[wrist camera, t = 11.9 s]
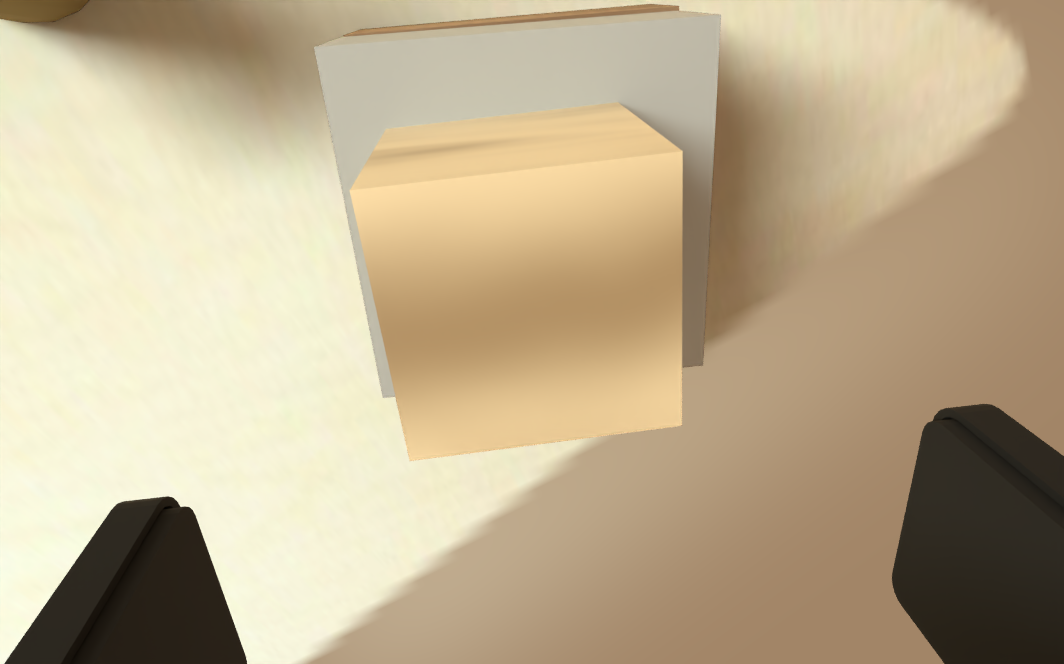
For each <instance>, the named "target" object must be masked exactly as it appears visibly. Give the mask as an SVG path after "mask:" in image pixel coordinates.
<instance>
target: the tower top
mask: <svg viewBox="0 0 1064 664" xmlns="http://www.w3.org/2000/svg"><path fill="white" fill-rule="evenodd" d="M720 25H721V15H718V14H708V13H698V12H687V11H665V12H652V13H639V14H627V15H614V16H601V17H589V18H576V19H563V20H551V21H538V22H525V23H513V24H500V25H487V26H475V27H462V28H449V29H437V30H424V31H411V32H399V33H386V34H373V35H361V36H348V37H340V38H337V39H335V40H332V41H329V42H326V43H324V44H321V45H318V46H315V47H314V50H315V56H316V61H317V66H318V71H319V76H320V81H321V86H322V91H323V96H324V101H325V106H326V111H327V116H328V122H329V127H330V132H331V137H332V142H333V147H334V152H335V157H336V162H337V167H338V172H339V177H340V182H341V188H342V193H343V198H344V203H345V208H346V213H347V218H348V223H349V228H350V233H351V238H352V243H353V248H354V254H355V259H356V264H357V269H358V274H359V279H360V284H361V289H362V294H363V299H364V304H365V309H366V314H367V320H368V325H369V330H370V335H371V340H372V345H373V350H374V355H375V360H376V365H377V370H378V375H379V380H380V386H381V391H382V396H383V398H386V397H395V392H394V388H393V383H392V379H391V374H390V370H389V365H388V361H387V356H386V352H385V347H384V343H383V338H382V334H381V329H380V325H379V320H378V316H377V311H376V307H375V303H374V298H373V294H372V289H371V285H370V280H369V276H368V271H367V267H366V262H365V258H364V253H363V249H362V244H361V240H360V235H359V231H358V226H357V222H356V217H355V213H354V208H353V204H352V199H351V195H350V189H351V187H352V185H353V184H354V182H355V180H356V179H357V177H358V175H359V174H360V172H361V170H362V169H363V167H364V165H365V164H366V162H367V160H368V159H369V157H370V155H371V153H372V152H373V150H374V148H375V147H376V145H377V143H378V142H379V140H380V138H381V137H382V135H383V133H384V132H385V130H386V129H390V128H398V127H407V126H416V125H424V124H433V123H442V122H450V121H459V120H468V119H476V118H485V117H494V116H502V115H511V114H520V113H528V112H537V111H546V110H554V109H563V108H572V107H580V106H589V105H598V104H606V103H615V102H618V103H620V104H621V105H622V106H624V107H625V108H626V109H628V110H629V111H630V112H632V113H633V114H634V115H636V116H637V117H638V118H640V119H641V120H642V121H643V122H645V123H646V124H647V125H649V126H650V127H651V128H653V129H654V130H655V131H657V132H658V133H659V134H661V135H662V136H663V137H665V138H666V139H667V140H669V141H670V142H671V143H672V144H674V145H675V146H676V147H678V148H679V149H680V150H682V151H683V205H682V367H692V366H702V365H703V355H704V336H705V316H706V297H707V278H708V258H709V239H710V219H711V200H712V181H713V161H714V142H715V122H716V103H717V83H718V64H719V45H720Z"/></svg>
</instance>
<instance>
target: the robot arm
mask: <svg viewBox="0 0 1064 664" xmlns="http://www.w3.org/2000/svg"><path fill="white" fill-rule="evenodd" d="M892 583H893V588H894V592H895V594H896V597H897V599H898V601H899V602H900V604H901V605H902V607H903V608H904V610H905V611H906V612H907V613H908V615H909V616H910V617H911V619H912V620H913V622H914V623H915V624H916V625H917V627H918V628H919V630H920V631H921V632H922V634H923V635H924V636H925V638H926V639H927V640H928V642H929V643H930V644H931V646H932V647H933V649H934V650H935V651H936V653H937V654H938V655H939V657H940V658H941V659H942V661H943V662H944V663H945V664H1064V456H1063V455H1061V454H1060V453H1059V452H1057V451H1056V450H1054V449H1053V448H1052V447H1050V446H1049V445H1048V444H1046V443H1045V442H1044V441H1042V440H1041V439H1040V438H1038V437H1037V436H1035V435H1034V434H1033V433H1032V432H1030V431H1029V430H1027V429H1026V428H1025V427H1023V426H1022V425H1021V424H1019V423H1018V422H1016V421H1015V420H1014V419H1013V418H1011V417H1010V416H1008V415H1007V414H1006V413H1004V412H1003V411H1002V410H1000V409H999V408H997V407H995V406H993V405H989V404H980V405H971V406H962V407H953V408H945V409H943V410H940V411H939V412H938V413H937V414H936V415H935V417H934V419H933V421H932V422H929V423H927V424H926V426H925V427H924V429H923V432H922V437H921V441H920V446H919V451H918V456H917V460H916V465H915V470H914V474H913V479H912V484H911V488H910V493H909V498H908V502H907V507H906V512H905V516H904V521H903V526H902V531H901V535H900V540H899V545H898V549H897V554H896V559H895V563H894V568H893V573H892ZM5 664H247V660H246V656H245V653H244V650H243V647H242V645H241V642H240V639H239V636H238V633H237V631H236V628H235V625H234V622H233V619H232V617H231V614H230V611H229V608H228V606H227V603H226V600H225V597H224V594H223V592H222V589H221V586H220V583H219V580H218V578H217V575H216V572H215V569H214V566H213V564H212V561H211V558H210V555H209V552H208V550H207V547H206V544H205V541H204V538H203V536H202V533H201V530H200V527H199V524H198V522H197V519H196V516H195V514H194V512H193V510H192V509H191V508H190V507H180V506H179V504H178V502H177V501H176V500H175V499H174V498H172V497H160V498H151V499H142V500H133V501H124V502H121V503H119V504H117V505H116V506H115V507H114V508H113V509H112V510H111V511H110V513H109V514H108V516H107V517H106V519H105V520H104V521H103V523H102V524H101V526H100V527H99V529H98V530H97V531H96V533H95V534H94V536H93V537H92V539H91V540H90V541H89V543H88V544H87V546H86V547H85V549H84V550H83V552H82V553H81V554H80V556H79V557H78V559H77V560H76V562H75V563H74V564H73V566H72V567H71V569H70V570H69V572H68V573H67V575H66V576H65V577H64V579H63V580H62V582H61V583H60V585H59V586H58V587H57V589H56V590H55V592H54V593H53V595H52V596H51V597H50V599H49V600H48V602H47V603H46V605H45V606H44V608H43V609H42V610H41V612H40V613H39V615H38V616H37V618H36V619H35V620H34V622H33V623H32V625H31V626H30V628H29V629H28V631H27V632H26V633H25V635H24V636H23V638H22V639H21V641H20V642H19V643H18V645H17V646H16V648H15V649H14V651H13V652H12V653H11V655H10V656H9V658H8V659H7V661H6V662H5Z"/></svg>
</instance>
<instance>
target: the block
mask: <svg viewBox="0 0 1064 664" xmlns="http://www.w3.org/2000/svg"><path fill="white" fill-rule="evenodd" d="M350 195H351V199H352V204H353V208H354V213H355V217H356V222H357V226H358V231H359V235H360V240H361V244H362V249H363V253H364V258H365V262H366V267H367V271H368V276H369V280H370V285H371V289H372V294H373V298H374V303H375V307H376V311H377V316H378V320H379V325H380V329H381V334H382V338H383V343H384V347H385V352H386V356H387V361H388V365H389V370H390V374H391V379H392V383H393V388H394V392H395V397H396V401H397V406H398V410H399V415H400V419H401V424H402V428H403V433H404V437H405V442H406V446H407V451H408V455H409V459H410V461H414V460H421V459H429V458H437V457H445V456H452V455H460V454H468V453H475V452H483V451H491V450H498V449H506V448H514V447H522V446H529V445H537V444H545V443H552V442H560V441H568V440H575V439H583V438H591V437H599V436H606V435H614V434H622V433H629V432H637V431H645V430H652V429H660V428H668V427H676V426H682V205H683V151H682V150H680V149H679V148H678V147H676V146H675V145H674V144H672V143H671V142H670V141H669V140H667V139H666V138H665V137H663V136H662V135H661V134H659V133H658V132H657V131H655V130H654V129H653V128H651V127H650V126H649V125H647V124H646V123H645V122H643V121H642V120H641V119H640V118H638V117H637V116H636V115H634V114H633V113H632V112H630V111H629V110H628V109H626V108H625V107H624V106H622V105H621V104H620V103H618V102H615V103H606V104H598V105H589V106H580V107H572V108H563V109H554V110H546V111H537V112H528V113H520V114H511V115H502V116H494V117H485V118H476V119H468V120H459V121H450V122H442V123H433V124H424V125H416V126H407V127H398V128H390V129H386V130H385V132H384V133H383V135H382V137H381V138H380V140H379V142H378V143H377V145H376V147H375V148H374V150H373V152H372V153H371V155H370V157H369V159H368V160H367V162H366V164H365V165H364V167H363V169H362V170H361V172H360V174H359V175H358V177H357V179H356V180H355V182H354V184H353V185H352V187H351V189H350Z"/></svg>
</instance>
